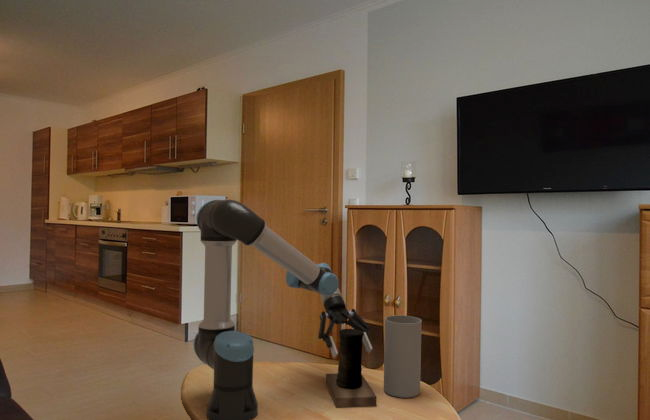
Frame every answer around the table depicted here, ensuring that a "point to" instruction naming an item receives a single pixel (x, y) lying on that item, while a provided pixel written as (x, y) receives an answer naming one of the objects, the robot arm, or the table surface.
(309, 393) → the table surface
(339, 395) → the shelf board
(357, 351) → the container
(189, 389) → the table surface
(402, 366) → the cylinder vase
